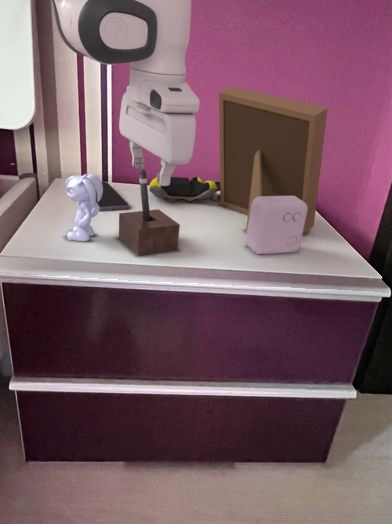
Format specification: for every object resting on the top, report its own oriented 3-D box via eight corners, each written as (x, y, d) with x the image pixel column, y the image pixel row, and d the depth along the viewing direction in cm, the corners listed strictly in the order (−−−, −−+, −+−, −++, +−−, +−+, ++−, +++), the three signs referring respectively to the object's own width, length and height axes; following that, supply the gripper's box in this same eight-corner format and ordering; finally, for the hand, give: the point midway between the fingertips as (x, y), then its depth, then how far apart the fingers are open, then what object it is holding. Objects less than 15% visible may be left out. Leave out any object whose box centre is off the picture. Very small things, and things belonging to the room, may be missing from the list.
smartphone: (97, 207, 116) (75, 182, 127) (97, 212, 117) (75, 187, 127) (130, 205, 119) (106, 181, 130) (129, 210, 120) (106, 185, 130)
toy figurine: (72, 227, 108) (71, 164, 101) (104, 232, 107) (105, 169, 101) (59, 240, 102) (57, 174, 95) (93, 246, 101) (93, 180, 95)
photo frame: (231, 201, 131) (247, 84, 117) (312, 230, 120) (341, 106, 107) (191, 214, 121) (204, 88, 107) (276, 247, 110) (302, 112, 96)
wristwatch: (233, 181, 132) (213, 175, 133) (223, 194, 128) (203, 188, 129) (231, 194, 134) (212, 188, 135) (222, 207, 130) (202, 201, 132)
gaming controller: (216, 208, 126) (207, 193, 134) (219, 183, 123) (210, 170, 131) (150, 205, 123) (144, 190, 131) (151, 180, 120) (146, 166, 128)
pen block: (137, 256, 100) (139, 229, 97) (118, 238, 106) (119, 213, 103) (177, 250, 104) (179, 224, 101) (156, 233, 110) (158, 209, 107)
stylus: (147, 246, 104) (140, 171, 96) (144, 243, 105) (137, 169, 97) (153, 244, 105) (147, 170, 96) (150, 242, 106) (144, 168, 97)
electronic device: (255, 257, 105) (264, 205, 99) (244, 247, 108) (252, 196, 103) (301, 254, 108) (312, 203, 103) (289, 244, 112) (299, 195, 107)
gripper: (112, 77, 96) (109, 159, 103) (169, 103, 82) (161, 196, 89) (145, 79, 99) (139, 158, 106) (206, 103, 85) (195, 193, 92)
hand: (150, 176), depth 98 cm, fingers open, 8 cm apart
